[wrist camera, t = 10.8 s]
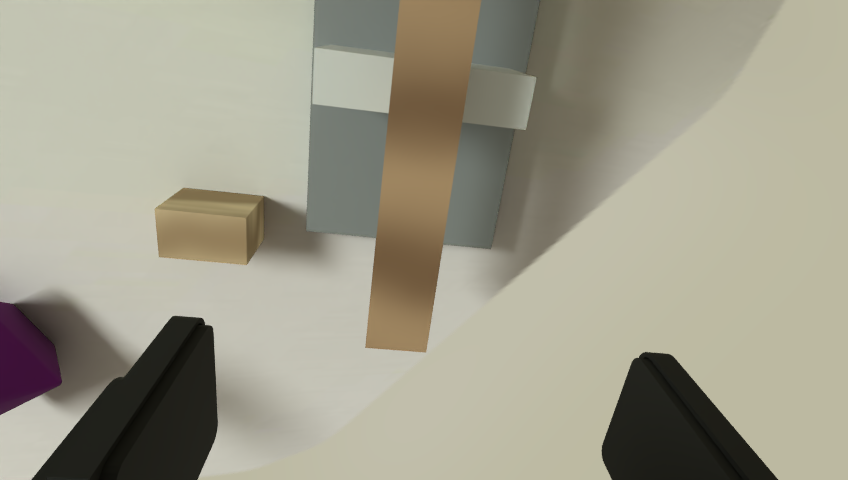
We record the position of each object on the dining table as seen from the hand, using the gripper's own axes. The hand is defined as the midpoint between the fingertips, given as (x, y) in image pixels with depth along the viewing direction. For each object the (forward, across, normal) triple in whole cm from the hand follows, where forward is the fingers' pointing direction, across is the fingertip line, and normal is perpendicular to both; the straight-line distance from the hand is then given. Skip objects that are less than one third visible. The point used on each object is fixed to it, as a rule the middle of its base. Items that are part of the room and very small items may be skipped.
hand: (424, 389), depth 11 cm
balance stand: (+22, 0, -5) cm, 22 cm away
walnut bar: (+14, 0, -5) cm, 15 cm away
